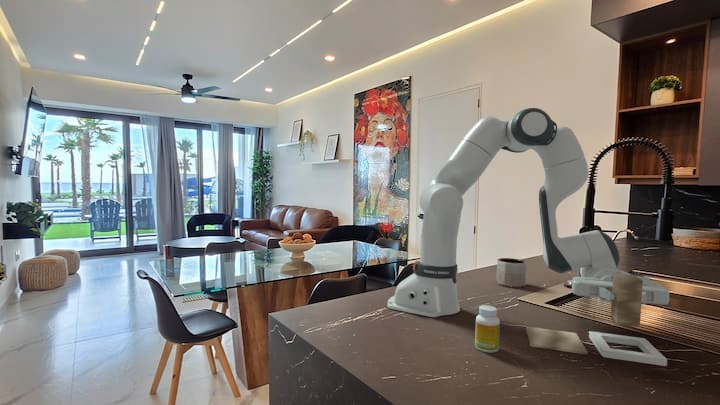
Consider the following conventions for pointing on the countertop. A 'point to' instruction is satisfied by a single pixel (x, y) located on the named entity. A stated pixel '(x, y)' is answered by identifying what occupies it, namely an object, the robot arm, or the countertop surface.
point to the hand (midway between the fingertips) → (627, 298)
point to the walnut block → (627, 300)
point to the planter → (511, 272)
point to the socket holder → (648, 356)
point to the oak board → (555, 340)
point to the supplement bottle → (487, 329)
